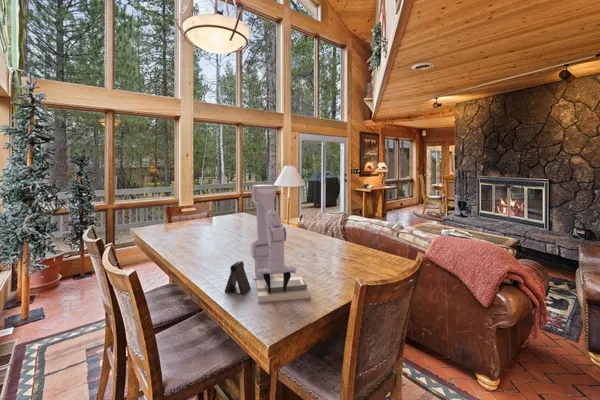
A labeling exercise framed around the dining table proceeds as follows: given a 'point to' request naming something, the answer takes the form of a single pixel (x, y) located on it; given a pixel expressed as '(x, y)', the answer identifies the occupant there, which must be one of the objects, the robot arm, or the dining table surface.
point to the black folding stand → (237, 280)
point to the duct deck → (280, 292)
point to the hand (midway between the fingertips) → (277, 291)
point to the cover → (290, 286)
